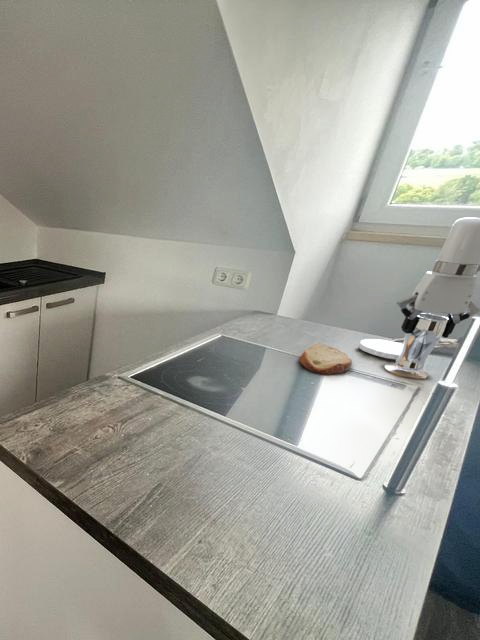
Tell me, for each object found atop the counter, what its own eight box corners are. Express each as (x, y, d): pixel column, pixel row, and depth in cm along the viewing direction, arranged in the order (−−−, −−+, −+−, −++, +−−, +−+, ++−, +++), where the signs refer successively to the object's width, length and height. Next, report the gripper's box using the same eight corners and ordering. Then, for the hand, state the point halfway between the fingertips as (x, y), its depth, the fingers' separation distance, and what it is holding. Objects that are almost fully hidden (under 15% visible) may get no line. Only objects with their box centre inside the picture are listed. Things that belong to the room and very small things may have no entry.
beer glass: (421, 364, 112) (445, 315, 106) (429, 374, 106) (454, 322, 100) (389, 359, 115) (410, 311, 109) (395, 368, 110) (417, 318, 104)
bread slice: (326, 349, 127) (330, 338, 125) (376, 374, 111) (381, 362, 109) (272, 350, 127) (275, 340, 125) (314, 375, 110) (319, 363, 109)
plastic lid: (425, 366, 115) (429, 359, 114) (365, 358, 120) (368, 351, 119) (405, 349, 126) (408, 342, 125) (351, 343, 132) (354, 336, 131)
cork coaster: (418, 368, 114) (419, 367, 113) (433, 381, 106) (434, 380, 106) (379, 363, 117) (379, 362, 117) (391, 375, 110) (391, 374, 110)
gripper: (492, 268, 99) (459, 333, 106) (403, 264, 106) (378, 325, 113) (512, 274, 93) (475, 343, 100) (416, 269, 100) (388, 334, 107)
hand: (424, 333), depth 107 cm, fingers closed on beer glass, 7 cm apart
